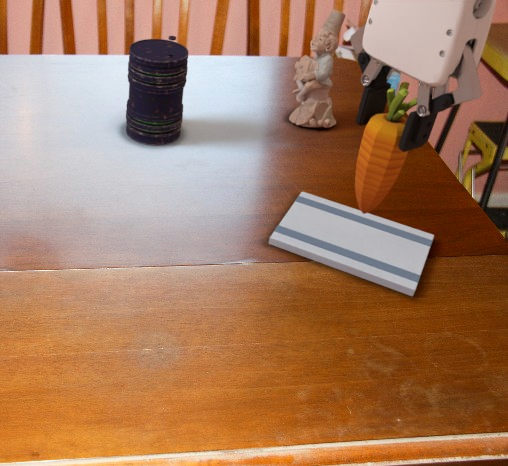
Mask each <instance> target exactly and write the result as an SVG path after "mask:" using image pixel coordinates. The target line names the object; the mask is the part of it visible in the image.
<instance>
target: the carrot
mask: <svg viewBox="0 0 508 466" xmlns="http://www.w3.org/2000/svg"><path fill="white" fill-rule="evenodd" d="M409 87H410V82H408V81H404V82H401V83H400V85H399V89H398V92H397V94H396V88H395V87H391V88H390V89H389V90H388V91H387V107H388V112H384V113H381V114H375V115H373V116H372V117H371V118H370V120H369V122H368V123H367V124H366V125H365V127H364V131H363V133H362V138H361V142H360V146H359V150H358V153H357V154H358V155H357V157H356V158H357V160H356V164H355V165H356V166H355V175H354V190H355V198H356V202H357V205H358V210H360V211H361V212H362V213H363V214H366V213H369V214H370V212H372V211H373V210H374V209H376V208H377V207H378V206H379V205H381V202H383V200H384V199H385V198H386V197H387V195H388V194H389V192H390V190H391V189H392V187H393V186H394V184H395V182H396V180H397V179H398V176H399V175H400V172H401V170H402V168H403V166H404V163H405V161H406V158H407V156H408V153H409V151H406V152H403V151H401V150H400V149H399V147H398V145H399V142H400V139H401V136H402V133H403V130H404V127H405V124H406V121H407V117H406V116H405V115H406V114H407V113H408V112H409V110H411V109H412V108H414V107H415V106H417V97H415V98H412V100H410V101H408V102H406V101H405V100H406V98H407V97H408V95H409V94H410V91H408V90H409ZM404 101H405V102H404Z"/></svg>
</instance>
